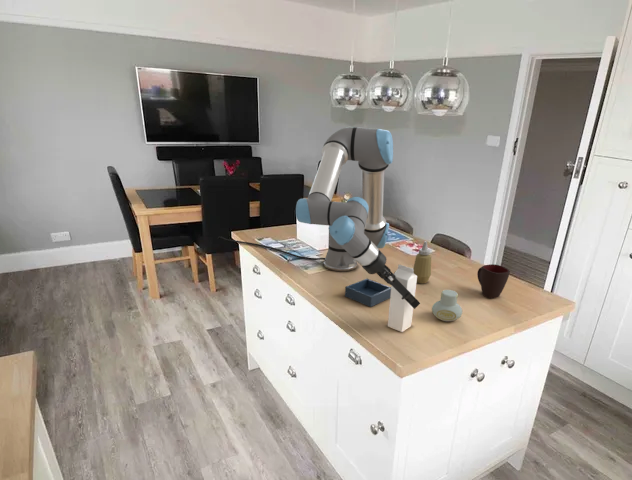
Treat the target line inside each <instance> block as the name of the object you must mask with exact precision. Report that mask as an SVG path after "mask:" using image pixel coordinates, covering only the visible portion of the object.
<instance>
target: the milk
mask: <svg viewBox="0 0 632 480" xmlns="http://www.w3.org/2000/svg"><path fill="white" fill-rule="evenodd" d="M413 268H414V267H410V266H406V265H403V264H398V265H397V269H396V270H395V272H393V274H394V275H395V276H396V279H397V280H398V281H399V282H400V283H401V284H402V285H403V286H404V287H405V288H406V289H407V290H408V291H409V292H411V294H412V295H413V296H414V297H415V298H416V290H417V289H416V288H417V275H415V274H414V273H413V271H414V269H413ZM390 287H391V296H390V298H389V306H388V307H389V308H388V318H387V327H388V328H391V329H393V330H395V331H398V332H400V333H403V332H405V331H406V330H407V329H409V328H411V327H412V322H413V315H414V308H413V307H412V306H411V305H410V304H409V303H408V302H407V301H406V300H405V299H403V300H402V299H401V298H402V295H401V294H400V293H399V292H398V291H397V290H396V289H395V288H394V287H393V286H392V285H390Z"/></svg>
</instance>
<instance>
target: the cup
mask: <svg viewBox="0 0 632 480" xmlns="http://www.w3.org/2000/svg"><path fill="white" fill-rule="evenodd" d="M510 274H511V271H510V269H508V268H507V267H504V266H502V265H500V264H484V265H482V266H481V267H479V268H478V269H477V273H476V275H477V280H478V283H479V285H480V288H481V294H482V295H483V296H484V297H485V298H487V299H498V298H500V295H501V294H502V293H503V291H504V289H505V288H506V287H505V286H506V284H507V282H508V280H509V277H510Z"/></svg>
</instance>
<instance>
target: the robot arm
mask: <svg viewBox="0 0 632 480" xmlns="http://www.w3.org/2000/svg"><path fill="white" fill-rule="evenodd" d="M321 156H322V157H321V160H320V162H319V165H318V169H317V171H316V173H315V177H314V179H313V181H312V184H311V186H310V187H311V188H310V190H309V192H308V195H307V198H306V197H304V198H299V199H298V200H297V201H296V205H295V217H296V220H297V221H298V222H299V223H303V224H306V225H307V224H308V225H317V226H328V249H327V252H326V254H325V257H308V256H302V255H297V254H294V253H291V252H288V251H286V250H282V249H279V248H275V247H272V246H268V245H264V244H261V243H254V242H248V241H243V240H235V239H227V238H225V237H223V236H218V237H217V238H216V240H220V239H221V240H223V241H225V242H229V243H235V244H236V243H237V244H245V245H251V246H257V247H261V248H266V249H270V250H273V251H276V252H280V253H282V254H285V255H289V256H292V257H294V258H298V259H303V260H310V261H311V260H312V261H322V260H323V267H324V268H326V269H327V270H330V271H334V272H350V271H351V272H352V271H354V270H356V269H357V267H358V264H359V266H361V268H362V269H363V270H364V271H365V272H366V273H367V274H369V275H375V274H376V275H377V276H379V278H380V279H382V280H384V282H386V283H387V284H388V285H390V286H391V285H392V286H393V287H394V288H395V289H396V290H397V291H398V292H399V293H400V294H401V295H402V298H401V299H402V300H403V299H405V300H406V301H407V302H408V303H409V304H410V305H411V306H412V307H413V310H416V308H418V307H419V305H421V302H420V301H419V300H418V299H417V298H416V296H415V297H414V296H413V295H412V294H411V292H409V291H408V290H407V289H406V288H405V287H404V286H403V285H402V284H401V283H400V282H399V281H398V280H397V279H396V276H395V275H394V272H392V271H391V269H390V267H389V266H387V265H386V264H387V257H386V256H385V254H384V253H383V252H382V251H381V250H380V249H383V248H385V247H386V243H387V239H388V233H389V228H390V223H389V222H387V220H386V218H385V216H384V215H383V214H384V193H385V191H384V190H385V171H387V170H388V168H389V167H390V166H389V165H391V164H393V162H394V161H393V160H394V141H393V135H392V133H391V131H389V130H387V129H381V128H369V127H357V126H347V127H343V128H340V129H338V130H336V131H335V132H334V133H332V134H331V135H330V136H329V137H328V138H327V139H326V141H325V142H324V144H323V146H322V149H321ZM348 161H351V162H353V161H354V162H358V163H357V164H358V168H359V169H360V170H361V171H362V172H361V173H362V174H361V175H362V176H361V177H362V183H361V184H362V188H361V189H362V191H361V192H362V193H361V194H362V197H360V196H353V197H350V198H349V199H347V201H346V202H343V201H333V197H334V194H335V191H336V188H337V184H338V182H339V178H340V175H341V172H342V169H343V166H344V165H345V164H346V163H347V162H348Z"/></svg>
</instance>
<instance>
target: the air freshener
mask: <svg viewBox="0 0 632 480" xmlns="http://www.w3.org/2000/svg"><path fill="white" fill-rule="evenodd" d="M458 297H459V294H458V292H457V291H455V290H452V289H443V290H442V291H441V293H440V300H438V301H436V302H434V303H433V305H432V306H431V312H432V314H433V315H434V317H436V318H437V319H439V320H441V321H443V322H455V321H457V320H458V319H460V318H461V317H462V315H463V309H462V308H463V307H462V306H461V305H460V304H459V303H458Z"/></svg>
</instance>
